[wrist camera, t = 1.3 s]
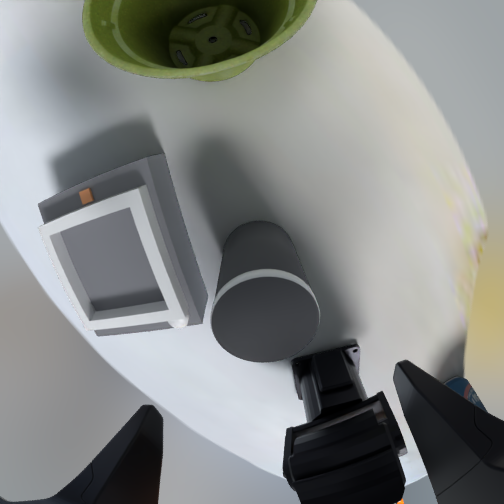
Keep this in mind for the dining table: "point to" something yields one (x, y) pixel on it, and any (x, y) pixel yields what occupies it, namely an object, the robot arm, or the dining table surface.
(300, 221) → the dining table surface
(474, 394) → the soda can
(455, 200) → the dining table surface
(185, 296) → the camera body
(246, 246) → the lens
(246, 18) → the plant pot
